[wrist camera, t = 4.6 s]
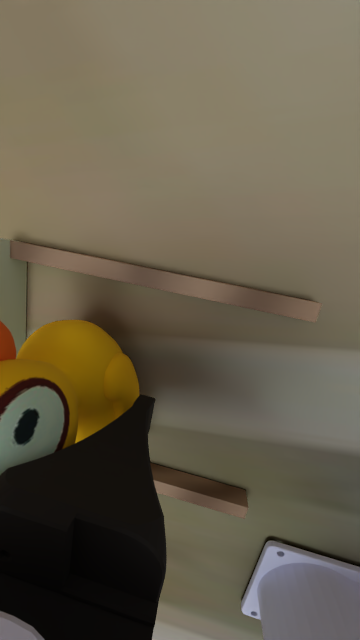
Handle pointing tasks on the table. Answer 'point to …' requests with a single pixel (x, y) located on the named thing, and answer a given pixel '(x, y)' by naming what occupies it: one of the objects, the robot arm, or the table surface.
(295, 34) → the table surface
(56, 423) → the duckling
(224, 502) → the u-shaped frame
